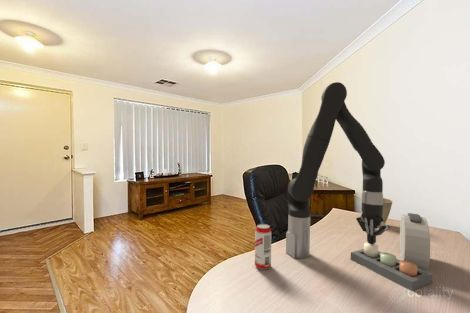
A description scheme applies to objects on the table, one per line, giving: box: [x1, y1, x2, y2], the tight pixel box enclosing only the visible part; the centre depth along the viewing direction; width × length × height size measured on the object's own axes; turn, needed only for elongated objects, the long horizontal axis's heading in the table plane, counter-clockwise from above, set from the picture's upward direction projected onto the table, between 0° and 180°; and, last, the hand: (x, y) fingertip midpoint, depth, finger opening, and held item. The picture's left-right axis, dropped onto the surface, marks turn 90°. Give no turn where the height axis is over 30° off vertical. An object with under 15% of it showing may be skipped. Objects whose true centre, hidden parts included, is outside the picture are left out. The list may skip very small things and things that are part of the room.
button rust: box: [399, 259, 417, 278], centre depth 81 cm, size 5×5×4 cm
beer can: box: [254, 223, 272, 271], centre depth 88 cm, size 6×6×16 cm
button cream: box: [363, 241, 379, 258], centre depth 93 cm, size 5×5×4 cm
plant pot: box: [378, 197, 393, 228], centre depth 139 cm, size 15×15×16 cm
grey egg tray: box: [350, 248, 434, 292], centre depth 87 cm, size 12×23×3 cm, turn 24°
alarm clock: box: [399, 212, 431, 272], centre depth 93 cm, size 21×8×20 cm, turn 148°
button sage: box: [380, 251, 397, 267], centre depth 87 cm, size 5×5×4 cm
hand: (371, 243), depth 93 cm, fingers closed
